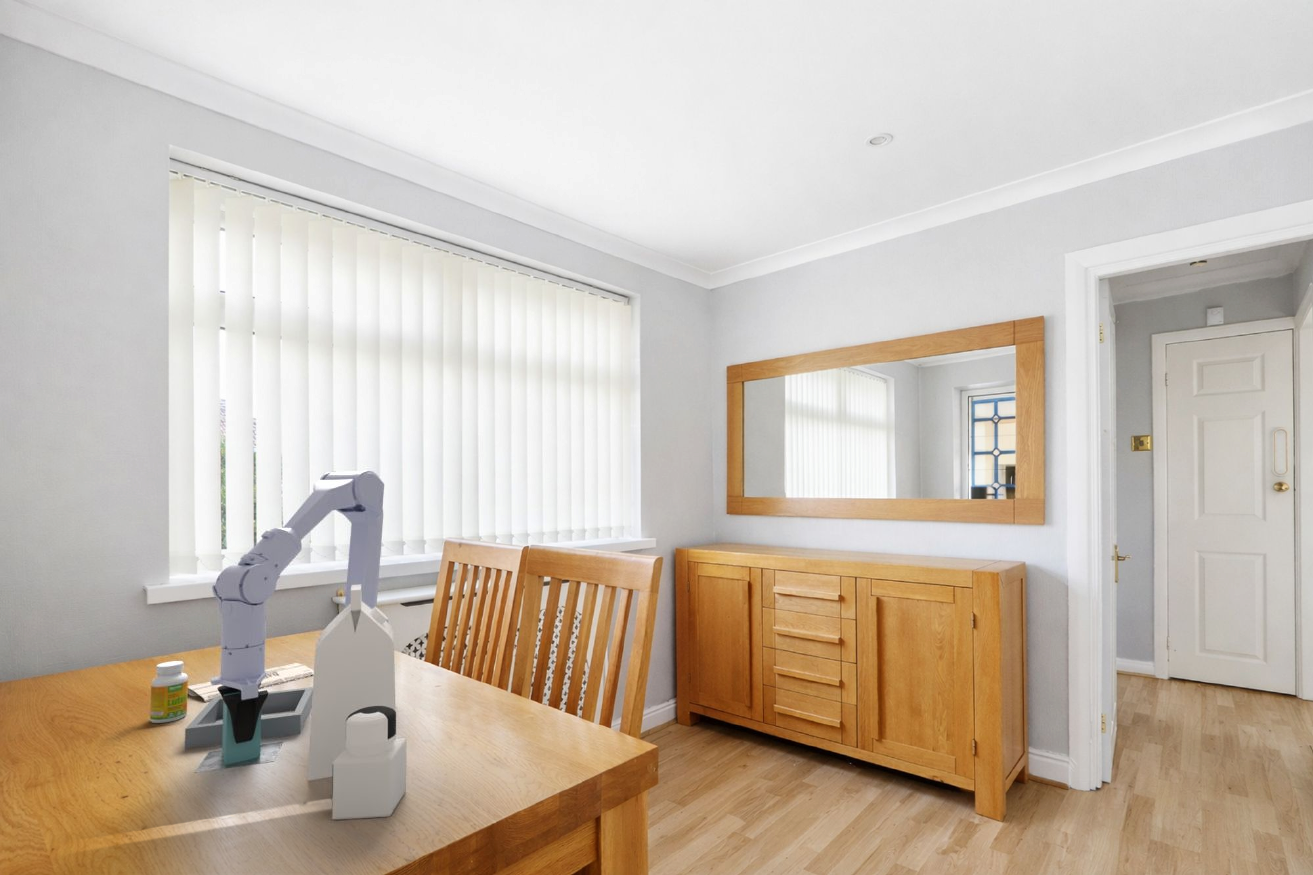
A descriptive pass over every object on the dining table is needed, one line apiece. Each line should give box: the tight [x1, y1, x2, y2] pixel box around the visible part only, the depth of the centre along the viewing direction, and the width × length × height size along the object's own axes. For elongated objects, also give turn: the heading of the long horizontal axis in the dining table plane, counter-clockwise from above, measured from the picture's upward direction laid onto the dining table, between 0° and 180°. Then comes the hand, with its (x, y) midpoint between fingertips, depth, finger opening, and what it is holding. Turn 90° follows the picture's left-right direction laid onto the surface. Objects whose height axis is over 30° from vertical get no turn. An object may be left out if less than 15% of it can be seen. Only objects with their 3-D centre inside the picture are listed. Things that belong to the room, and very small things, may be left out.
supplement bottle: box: [149, 660, 189, 724], centre depth 121 cm, size 5×5×10 cm
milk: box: [307, 584, 397, 782], centre depth 100 cm, size 12×12×26 cm
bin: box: [184, 686, 313, 750], centre depth 114 cm, size 16×16×4 cm
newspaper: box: [187, 662, 314, 703], centre depth 141 cm, size 23×12×2 cm, turn 144°
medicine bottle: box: [331, 706, 407, 821], centre depth 87 cm, size 7×7×12 cm
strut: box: [221, 690, 262, 765], centre depth 100 cm, size 4×4×9 cm
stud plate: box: [193, 741, 284, 774], centre depth 100 cm, size 10×8×3 cm
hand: (241, 736), depth 100 cm, fingers closed on strut, 4 cm apart
